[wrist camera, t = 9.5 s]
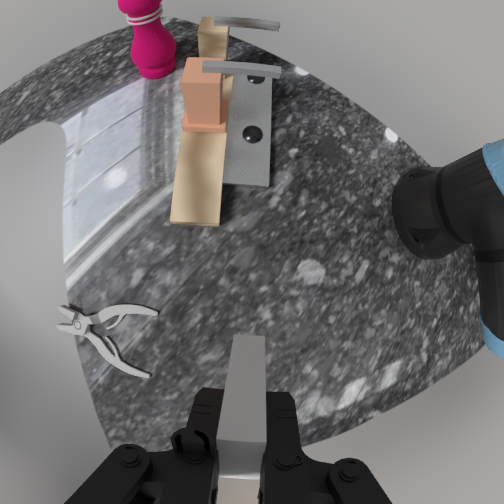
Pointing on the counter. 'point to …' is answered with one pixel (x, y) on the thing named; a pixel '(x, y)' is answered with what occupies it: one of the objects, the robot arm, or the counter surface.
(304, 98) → the counter surface
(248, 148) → the hole plate
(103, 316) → the pliers
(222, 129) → the slide leg
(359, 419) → the counter surface
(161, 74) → the pepper mill
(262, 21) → the rail
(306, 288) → the counter surface
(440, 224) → the robot arm
